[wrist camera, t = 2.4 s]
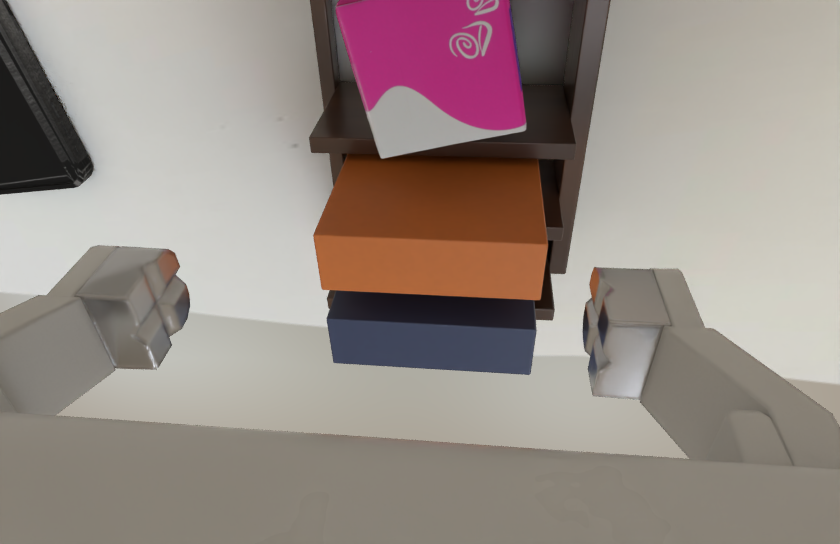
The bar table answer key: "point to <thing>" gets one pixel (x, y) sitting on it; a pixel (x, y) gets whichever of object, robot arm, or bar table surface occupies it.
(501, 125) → the supplement box
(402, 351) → the navy book
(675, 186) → the bar table surface
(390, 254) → the orange book
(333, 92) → the book rack
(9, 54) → the phone
